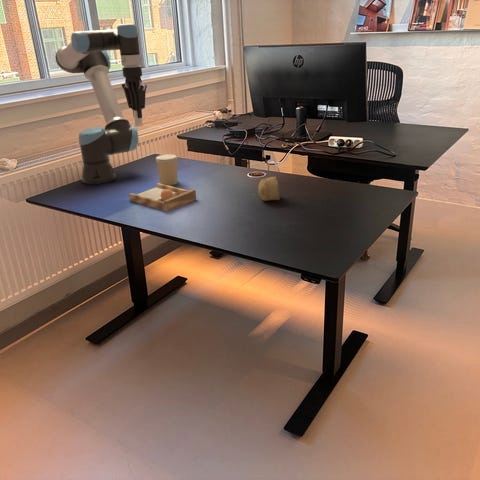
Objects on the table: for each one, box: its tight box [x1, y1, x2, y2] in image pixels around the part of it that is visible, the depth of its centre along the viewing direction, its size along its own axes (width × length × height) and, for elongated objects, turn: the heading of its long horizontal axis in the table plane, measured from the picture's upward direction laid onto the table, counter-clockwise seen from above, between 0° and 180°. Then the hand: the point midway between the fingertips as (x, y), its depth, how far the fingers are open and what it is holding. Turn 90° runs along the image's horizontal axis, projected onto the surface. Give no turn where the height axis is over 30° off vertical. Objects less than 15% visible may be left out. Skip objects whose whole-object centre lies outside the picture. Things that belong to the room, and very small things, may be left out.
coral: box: [257, 176, 281, 202], centre depth 186 cm, size 10×10×10 cm
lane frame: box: [128, 182, 197, 213], centre depth 191 cm, size 22×16×4 cm
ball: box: [161, 189, 173, 201], centre depth 188 cm, size 5×5×5 cm
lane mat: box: [136, 186, 177, 202], centre depth 192 cm, size 20×14×2 cm
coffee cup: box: [155, 153, 178, 186], centre depth 209 cm, size 9×9×12 cm
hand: (139, 125), depth 198 cm, fingers closed
